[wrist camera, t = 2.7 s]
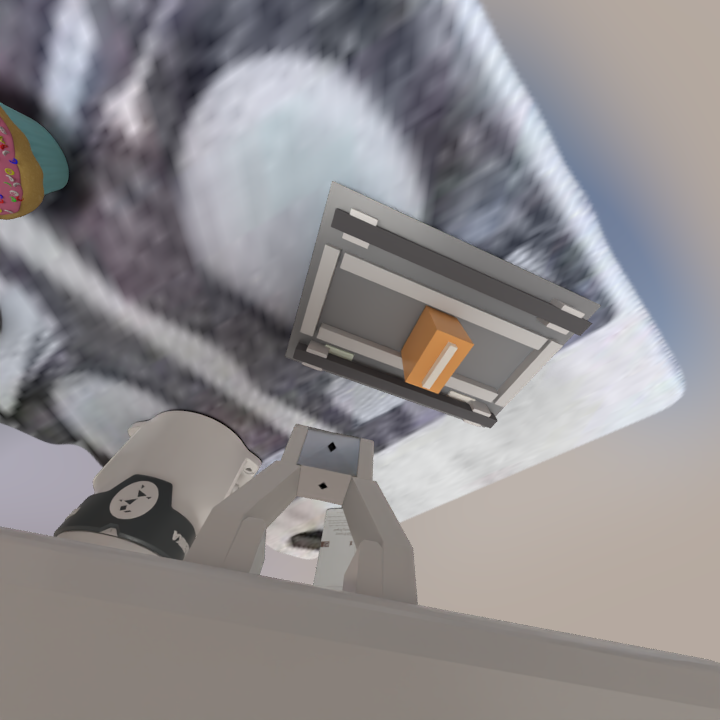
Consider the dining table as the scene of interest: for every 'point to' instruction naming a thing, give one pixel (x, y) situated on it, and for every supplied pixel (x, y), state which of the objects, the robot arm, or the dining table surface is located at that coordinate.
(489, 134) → the dining table surface
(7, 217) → the cupcake
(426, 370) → the block
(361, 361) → the panel
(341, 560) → the skincare box
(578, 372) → the dining table surface
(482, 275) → the pair of dark pieces
